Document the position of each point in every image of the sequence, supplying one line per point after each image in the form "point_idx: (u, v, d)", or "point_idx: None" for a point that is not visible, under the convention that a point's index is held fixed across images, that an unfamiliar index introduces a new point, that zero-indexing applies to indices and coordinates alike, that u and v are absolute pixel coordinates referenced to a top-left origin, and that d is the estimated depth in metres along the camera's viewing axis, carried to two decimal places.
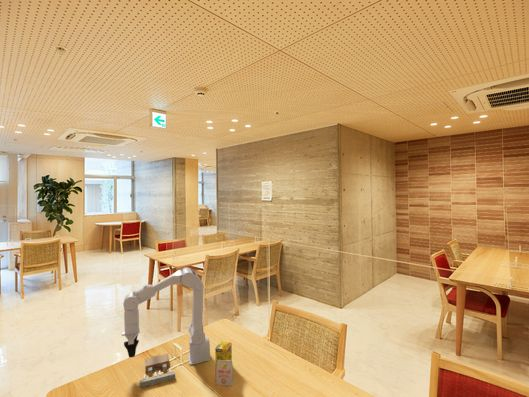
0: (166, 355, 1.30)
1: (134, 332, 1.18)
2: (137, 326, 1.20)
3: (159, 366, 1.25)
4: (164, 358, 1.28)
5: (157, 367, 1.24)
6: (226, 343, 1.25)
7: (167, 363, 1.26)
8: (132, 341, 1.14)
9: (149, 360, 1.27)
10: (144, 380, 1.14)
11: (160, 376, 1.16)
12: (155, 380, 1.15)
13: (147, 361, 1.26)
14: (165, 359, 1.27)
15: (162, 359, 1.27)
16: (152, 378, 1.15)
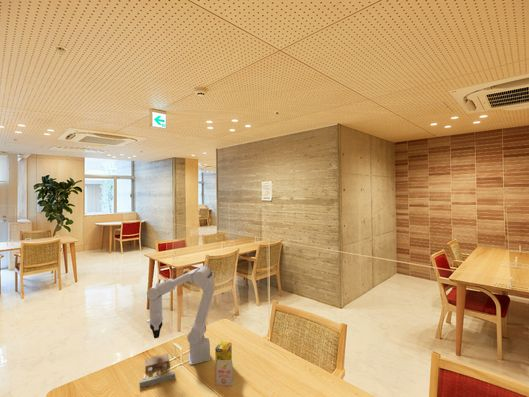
0: (166, 355, 1.30)
1: (158, 320, 1.31)
2: (161, 314, 1.33)
3: (159, 366, 1.25)
4: (164, 358, 1.28)
5: (157, 367, 1.25)
6: (226, 343, 1.25)
7: (167, 363, 1.26)
8: (157, 327, 1.27)
9: (149, 360, 1.27)
10: (144, 380, 1.14)
11: (160, 376, 1.16)
12: (155, 380, 1.15)
13: (147, 361, 1.26)
14: (165, 359, 1.27)
15: (162, 359, 1.27)
16: (152, 378, 1.15)
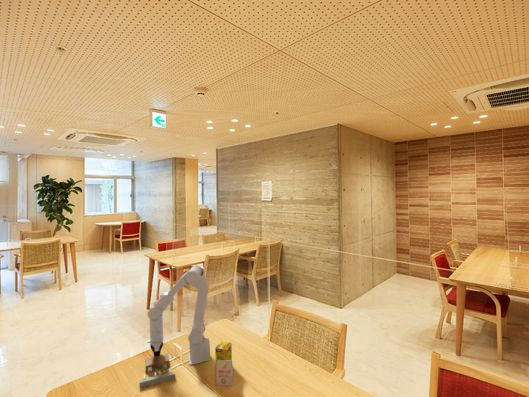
0: (166, 355, 1.30)
1: (159, 340, 1.29)
2: (161, 334, 1.30)
3: (159, 366, 1.25)
4: (164, 358, 1.28)
5: (157, 367, 1.25)
6: (226, 343, 1.25)
7: (167, 363, 1.26)
8: (158, 348, 1.24)
9: (149, 360, 1.27)
10: (144, 380, 1.14)
11: (160, 376, 1.16)
12: (155, 380, 1.15)
13: (147, 361, 1.26)
14: (165, 359, 1.27)
15: (162, 359, 1.27)
16: (152, 378, 1.15)
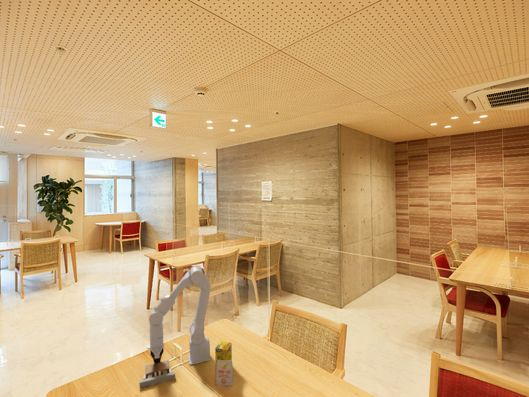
0: (167, 362, 1.25)
1: (159, 346, 1.24)
2: (162, 340, 1.25)
3: None
4: (164, 365, 1.23)
5: (157, 375, 1.19)
6: (226, 343, 1.25)
7: (168, 370, 1.21)
8: (158, 355, 1.19)
9: (149, 367, 1.21)
10: (144, 380, 1.14)
11: (160, 376, 1.16)
12: (155, 380, 1.15)
13: (147, 368, 1.21)
14: (166, 366, 1.22)
15: (162, 366, 1.22)
16: (152, 378, 1.15)
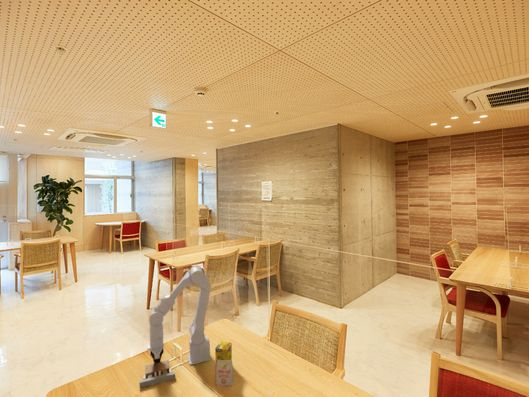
0: (167, 362, 1.25)
1: (159, 347, 1.23)
2: (162, 340, 1.24)
3: None
4: (164, 365, 1.23)
5: (157, 375, 1.19)
6: (226, 343, 1.25)
7: (168, 370, 1.21)
8: (158, 355, 1.19)
9: (149, 367, 1.21)
10: (144, 380, 1.14)
11: (160, 376, 1.16)
12: (155, 380, 1.15)
13: (147, 368, 1.21)
14: (166, 366, 1.22)
15: (162, 366, 1.22)
16: (152, 378, 1.15)
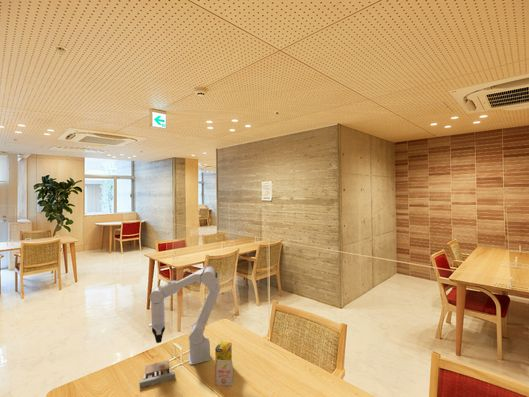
0: (167, 362, 1.25)
1: (161, 324, 1.27)
2: (163, 318, 1.28)
3: None
4: (164, 365, 1.23)
5: (157, 375, 1.19)
6: (226, 343, 1.25)
7: (168, 370, 1.21)
8: (160, 331, 1.22)
9: (149, 367, 1.21)
10: (144, 380, 1.14)
11: (160, 376, 1.16)
12: (155, 380, 1.15)
13: (147, 368, 1.21)
14: (166, 366, 1.22)
15: (162, 366, 1.22)
16: (152, 378, 1.15)
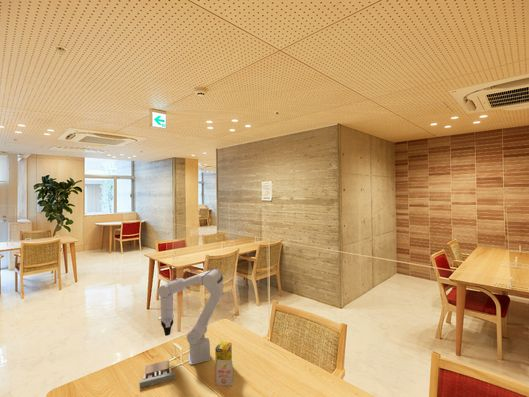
0: (167, 362, 1.25)
1: (170, 317, 1.32)
2: (172, 312, 1.34)
3: None
4: (164, 365, 1.23)
5: (157, 375, 1.19)
6: (226, 343, 1.25)
7: (168, 370, 1.21)
8: (169, 324, 1.28)
9: (149, 367, 1.21)
10: (144, 380, 1.14)
11: (160, 376, 1.16)
12: (155, 380, 1.15)
13: (147, 368, 1.21)
14: (166, 366, 1.22)
15: (162, 366, 1.22)
16: (152, 378, 1.15)
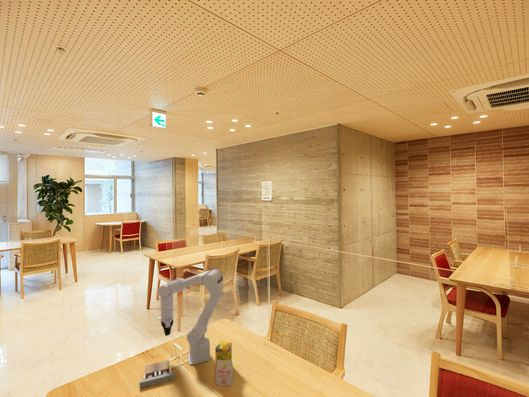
0: (167, 362, 1.25)
1: (170, 317, 1.32)
2: (172, 312, 1.34)
3: None
4: (164, 365, 1.23)
5: (157, 375, 1.19)
6: (226, 343, 1.25)
7: (168, 370, 1.21)
8: (169, 324, 1.28)
9: (149, 367, 1.21)
10: (144, 380, 1.14)
11: (160, 376, 1.16)
12: (155, 380, 1.15)
13: (147, 368, 1.21)
14: (166, 366, 1.22)
15: (162, 366, 1.22)
16: (152, 378, 1.15)
